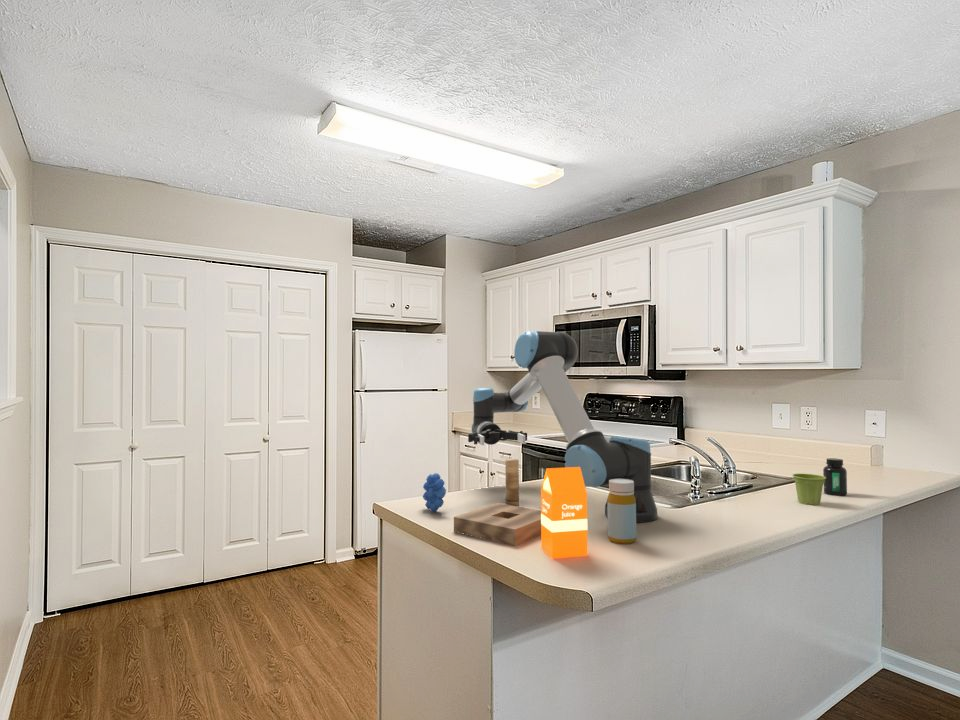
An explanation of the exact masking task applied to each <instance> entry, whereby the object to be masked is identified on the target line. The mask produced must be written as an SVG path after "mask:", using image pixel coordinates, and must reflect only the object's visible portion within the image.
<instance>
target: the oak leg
mask: <svg viewBox="0 0 960 720" xmlns="http://www.w3.org/2000/svg"><path fill="white" fill-rule="evenodd" d="M519 463H520V461H519V459H517V458H508V459H505V504H506V505H512V506H518V507H520V492H519V491H520V478H519V477H520V475H519V473H520V472H519V471H520V469H519V468H520V467H519V465H520V464H519Z"/></svg>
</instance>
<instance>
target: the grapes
mask: <svg viewBox="0 0 960 720" xmlns="http://www.w3.org/2000/svg"><path fill="white" fill-rule="evenodd" d="M422 488H423V489H424V491H425V492H424V493H423V495H422V498H423V500H425V507H426V508H427V509H429V510H431V511H432V512H434V513H435V512H437V511H438V510H439V508H441V507H442V506H444V503H445V501H444V500H443V498H444V497H445V496H446V493H447V489H446V487H445V481H444V480H443V478H441V475H440V474H439V473H437V472H435V473H431V474H429V475H428V476H427V477H426V479H425V482H424V484H423V487H422Z"/></svg>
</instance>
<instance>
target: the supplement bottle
mask: <svg viewBox="0 0 960 720" xmlns="http://www.w3.org/2000/svg"><path fill="white" fill-rule="evenodd" d="M825 464H826V466H824V467H823V473H822V476H824V477H826V479H825V481H824V484H823V493H824V494H825V495H827V496H834V497H846V496H847V495H848V478H847V477H848V472H847V471H848V470H847V469H846V468H845V467H844V460H843V459H842V458H826V462H825Z"/></svg>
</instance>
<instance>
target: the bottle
mask: <svg viewBox="0 0 960 720" xmlns="http://www.w3.org/2000/svg"><path fill="white" fill-rule="evenodd" d="M608 488H609V489H608V495H609V496H608V495H607V498H608V501H607V500H606V501H607V512H608V517H607V538H608V540H610V542H612V543H614V544H619V545H631V544H633V543H635V542H636V541H637V522H636V499H635V496H634V481H633V480H629V479H611V480H609V484H608Z"/></svg>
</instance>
